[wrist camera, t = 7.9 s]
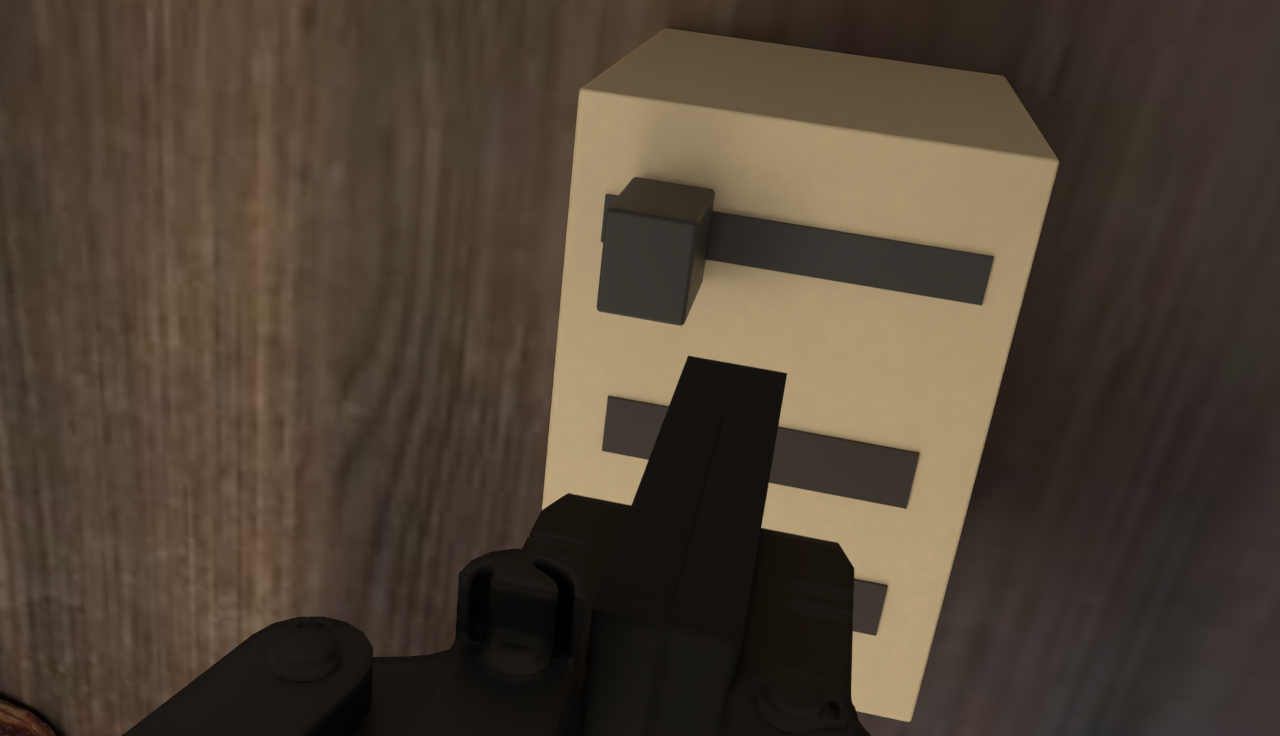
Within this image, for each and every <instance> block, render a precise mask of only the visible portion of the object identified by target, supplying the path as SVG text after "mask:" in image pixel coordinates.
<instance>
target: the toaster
mask: <svg viewBox="0 0 1280 736" xmlns="http://www.w3.org/2000/svg"><path fill="white" fill-rule="evenodd" d="M1058 165H1059V160H1058V159H1057V157H1056V156H1055V154H1054V152H1053V151H1052V149H1051V148H1050V146H1049V145H1048V143H1047V142H1046V140H1045V138H1044V137H1043V135H1042V134H1041V132H1040V131H1039V129H1038V128H1037V126H1036V125H1035V123H1034V121H1033V120H1032V118H1031V117H1030V115H1029V114H1028V112H1027V111H1026V109H1025V108H1024V106H1023V104H1022V103H1021V101H1020V100H1019V98H1018V97H1017V95H1016V94H1015V92H1014V90H1013V89H1012V87H1011V86H1010V84H1009V83H1008V81H1007V80H1006V78H1005V77H1004V76H1001V75H994V74H986V73H979V72H972V71H965V70H958V69H951V68H944V67H937V66H930V65H923V64H916V63H909V62H902V61H895V60H888V59H881V58H874V57H867V56H860V55H852V54H845V53H838V52H831V51H824V50H817V49H810V48H803V47H796V46H789V45H782V44H775V43H768V42H761V41H754V40H747V39H740V38H733V37H726V36H719V35H711V34H704V33H697V32H690V31H683V30H676V29H669V28H665V29H663V30H662V31H660V32H659V33H657V34H656V35H655V36H653V37H652V38H650V39H649V40H648V41H646V42H645V43H643V44H642V45H641V46H639V47H638V48H636V49H635V50H634V51H632V52H631V53H630V54H628V55H627V56H625V57H624V58H623V59H621V60H620V61H618V62H617V63H616V64H614V65H613V66H611V67H610V68H609V69H607V70H606V71H604V72H603V73H602V74H600V75H599V76H597V77H596V78H595V79H593V80H592V81H590V82H589V83H588V84H586V85H585V86H583V87H582V88H581V89H580V91H579V100H578V111H577V122H576V133H575V145H574V156H573V167H572V178H571V190H570V201H569V212H568V223H567V235H566V246H565V257H564V268H563V280H562V291H561V302H560V313H559V325H558V336H557V347H556V358H555V370H554V381H553V392H552V403H551V415H550V426H549V437H548V448H547V460H546V471H545V482H544V493H543V505H542V510H543V509H544V508H546V507H547V506H549V505H550V504H552V503H553V502H555V501H556V500H558V499H560V498H561V497H563V496H564V495H566V494H567V493H570V494H575V495H580V496H585V497H590V498H595V499H600V500H606V501H611V502H616V503H621V504H626V505H632V503H633V500H634V497H635V495H636V492H637V489H638V487H639V484H640V482H641V479H642V476H643V474H644V471H645V468H646V466H647V463H648V460H649V458H650V455H651V452H652V450H653V447H654V445H655V442H656V439H657V437H658V434H659V431H660V429H661V426H662V423H663V421H664V418H665V415H666V413H667V410H668V407H669V405H670V402H671V400H672V397H673V394H674V392H675V389H676V386H677V384H678V381H679V378H680V376H681V373H682V370H683V368H684V365H685V363H686V360H687V357H688V356H693V357H699V358H705V359H710V360H716V361H721V362H727V363H733V364H738V365H744V366H750V367H755V368H761V369H767V370H772V371H778V372H784V373H787V378H786V383H785V389H784V395H783V401H782V407H781V413H780V419H779V425H778V431H777V437H776V443H775V449H774V455H773V461H772V467H771V473H770V479H769V485H768V491H767V497H766V503H765V509H764V514H763V520H762V526H761V528H765V529H770V530H775V531H780V532H785V533H790V534H796V535H801V536H806V537H811V538H816V539H821V540H826V541H832V542H837V543H839V545H840V546H841V548H842V549H843V551H844V553H845V554H846V556H847V557H848V559H849V561H850V562H851V564H852V566H853V567H854V595H853V599H854V601H853V619H852V620H853V641H852V681H851V698H852V704H853V705H854V706H855V709H856V711H859V712H864V713H869V714H873V715H878V716H883V717H887V718H892V719H897V720H901V721H906V722H910V721H911V720H912V716H913V713H914V709H915V705H916V701H917V697H918V694H919V690H920V686H921V682H922V679H923V675H924V671H925V667H926V663H927V660H928V656H929V652H930V648H931V645H932V641H933V637H934V633H935V629H936V626H937V622H938V618H939V614H940V611H941V607H942V603H943V599H944V595H945V592H946V588H947V584H948V580H949V577H950V573H951V569H952V565H953V562H954V558H955V554H956V550H957V546H958V543H959V539H960V535H961V531H962V528H963V524H964V520H965V516H966V512H967V509H968V505H969V501H970V497H971V494H972V490H973V486H974V482H975V478H976V475H977V471H978V467H979V463H980V460H981V456H982V452H983V448H984V444H985V441H986V437H987V433H988V429H989V426H990V422H991V418H992V414H993V410H994V407H995V403H996V399H997V395H998V392H999V388H1000V384H1001V380H1002V377H1003V373H1004V369H1005V365H1006V361H1007V358H1008V354H1009V350H1010V346H1011V343H1012V339H1013V335H1014V331H1015V327H1016V324H1017V320H1018V316H1019V312H1020V309H1021V305H1022V301H1023V297H1024V293H1025V290H1026V286H1027V282H1028V278H1029V275H1030V271H1031V267H1032V263H1033V259H1034V256H1035V252H1036V248H1037V244H1038V241H1039V237H1040V233H1041V229H1042V225H1043V222H1044V218H1045V214H1046V210H1047V207H1048V203H1049V199H1050V195H1051V192H1052V188H1053V184H1054V180H1055V176H1056V173H1057V169H1058ZM634 177H639V178H646V179H652V180H658V181H664V182H671V183H677V184H683V185H690V186H696V187H702V188H709V189H712V190H714V192H715V196H714V204H713V211H712V218H711V225H710V232H709V239H708V246H707V253H706V260H705V267H704V274H703V281H702V284H701V286H700V289H699V291H698V293H697V296H696V298H695V300H694V303H693V305H692V307H691V310H690V312H689V314H688V317H687V319H686V321H685V323H684V325H682V326H679V325H673V324H667V323H661V322H656V321H650V320H644V319H638V318H633V317H627V316H621V315H616V314H610V313H604V312H599V311H598V310H597V298H598V288H599V279H600V269H601V259H602V250H603V240H604V230H605V220H606V211H607V210H608V208H609V207H610V206H611V204H612V203H613V202H614V201H615V199H616V198H617V197H618V196H619V194H620V193H621V192H622V191H623V189H624V188H625V187H626V186H627V185H628V183H629V182H630V181H631V180H632V178H634Z"/></svg>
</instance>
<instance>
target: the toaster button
mask: <svg viewBox="0 0 1280 736" xmlns="http://www.w3.org/2000/svg"><path fill="white" fill-rule="evenodd" d="M714 196H715V192H714V190H712V189H709V188H702V187H696V186H690V185H683V184H677V183H671V182H664V181H658V180H652V179H646V178H639V177H634V178H632V180H631V181H630V182H629V183H628V185H627V186H626V187H625V188H624V189H623V191H622V192H621V193H620V194H619V196H618V197H617V198H616V199H615V201H614V202H613V203H612V204H611V206H610V207H609V208H608V210H607V211H606V220H605V230H604V240H603V250H602V259H601V269H600V279H599V288H598V298H597V310H598V311H599V312H604V313H610V314H616V315H621V316H627V317H633V318H638V319H644V320H650V321H656V322H661V323H667V324H673V325H679V326H682V325H684V323H685V321H686V319H687V317H688V314H689V312H690V310H691V307H692V305H693V303H694V300H695V298H696V296H697V293H698V291H699V289H700V286H701V284H702V281H703V274H704V267H705V260H706V253H707V246H708V239H709V232H710V225H711V218H712V211H713V204H714Z"/></svg>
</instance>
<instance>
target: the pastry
mask: <svg viewBox="0 0 1280 736" xmlns="http://www.w3.org/2000/svg"><path fill="white" fill-rule="evenodd" d="M0 736H57V735H56V734H55V733H54V732H53V730H52V729H51V728H50V726H49V725H48V724H46V723H45V722H44V721H42V720H41V719H40V718H38V717H37V716H36V715H34V714H33V713H32V712H30V711H27V710H25V709H23V708H21V707H18V706H16V705H14V704H12V703H9V702H7V701H5V700H2V699H0Z"/></svg>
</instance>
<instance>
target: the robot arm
mask: <svg viewBox="0 0 1280 736" xmlns="http://www.w3.org/2000/svg"><path fill="white" fill-rule="evenodd" d="M786 378H787V373H784V372H778V371H772V370H767V369H761V368H755V367H750V366H744V365H738V364H733V363H727V362H721V361H716V360H710V359H705V358H699V357H693V356H688V357H687V360H686V363H685V365H684V368H683V370H682V373H681V376H680V378H679V381H678V384H677V386H676V389H675V392H674V394H673V397H672V400H671V402H670V405H669V407H668V410H667V413H666V415H665V418H664V421H663V423H662V426H661V429H660V431H659V434H658V437H657V439H656V442H655V445H654V447H653V450H652V452H651V455H650V458H649V460H648V463H647V466H646V468H645V471H644V474H643V476H642V479H641V482H640V484H639V487H638V489H637V492H636V495H635V497H634V500H633V503H632V505H626V504H621V503H616V502H611V501H606V500H600V499H595V498H590V497H585V496H580V495H575V494H570V493H567V494H566V495H564V496H563V497H561V498H560V499H558V500H556V501H555V502H553V503H552V504H550V505H549V506H547V507H546V508H544V509H543V510H542V511H541V513H540V515H539V517H538V519H537V521H536V523H535V525H534V527H533V528H532V530H531V532H530V537H528V538H527V540H526V542H525V544H524V546H523V548H522V549H509V550H502V551H495V552H490V553H488V554H485V555H483V556H481V557H479V558H476V559H474V560H472V561H471V562H470V563H469V564H468V565H467V566H466V567H465V568H464V569H463V570H462V571H461V572H460V573H459V585H458V603H457V621H456V639H455V641H454V643H453V645H452V647H451V649H449V650H445V651H442V652H438V653H434V654H430V655H421V656H410V657H373V647H372V645H371V644H370V642H369V640H368V639H367V637H366V635H365V634H364V633H363V632H362V631H360V630H358V629H357V628H355V627H354V626H352V625H350V624H349V623H347V622H344V621H340V620H336V619H331V618H327V617H297V618H293V619H289V620H285V621H281V622H277V623H273V624H271V625H269V626H268V627H266V628H264V629H262V630H260V631H259V632H257V633H255V634H253V635H252V636H250V637H249V638H248V639H246V640H245V641H244V642H243V643H241V644H240V645H239V646H237V647H236V648H235V649H234V650H232V651H231V652H230V653H228V654H227V655H226V656H224V657H223V658H222V659H221V660H219V661H218V662H217V663H215V664H214V665H213V666H212V667H210V668H209V669H208V670H206V671H205V672H204V673H202V674H201V675H200V676H199V677H197V678H196V679H195V680H193V681H192V682H191V683H190V684H188V685H187V686H186V687H184V688H183V689H182V690H181V691H179V692H178V693H177V694H175V695H174V696H173V697H171V698H170V699H169V700H168V701H166V702H165V703H164V704H162V705H161V706H160V707H159V708H157V709H156V710H155V711H153V712H152V713H151V714H149V715H148V716H147V717H146V718H144V719H143V720H142V721H140V722H139V723H138V724H137V725H135V726H134V727H133V728H131V729H130V730H129V731H127V732H126V733H125V734H124V735H122V736H871V735H870V734H869V733H868V732H867V731H866V730H865V728H864V727H863V726H862V725H861V724H860V722H859V720H858V717H857V713H856V709H855V706H854V705H853V704H852V698H851V681H852V641H853V620H852V619H853V601H854V599H853V595H854V567H853V566H852V564H851V562H850V561H849V559H848V557H847V556H846V554H845V553H844V551H843V549H842V548H841V546H840V545H839V543H837V542H832V541H826V540H821V539H816V538H811V537H806V536H801V535H796V534H790V533H785V532H780V531H775V530H770V529H765V528H761V526H762V520H763V514H764V509H765V503H766V497H767V491H768V485H769V479H770V473H771V467H772V461H773V455H774V449H775V443H776V437H777V431H778V425H779V419H780V413H781V407H782V401H783V395H784V389H785V383H786Z"/></svg>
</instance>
